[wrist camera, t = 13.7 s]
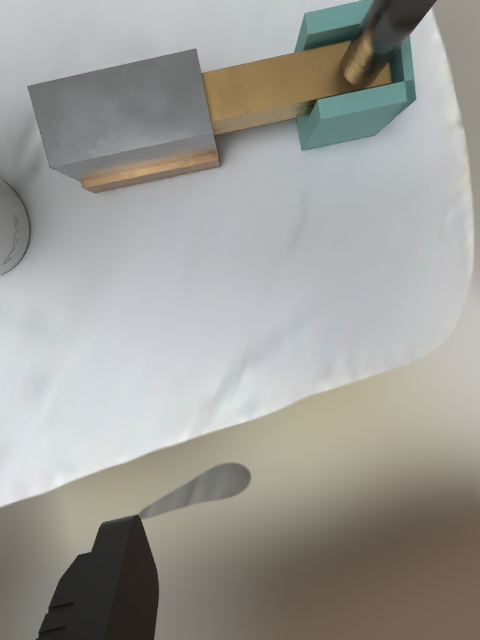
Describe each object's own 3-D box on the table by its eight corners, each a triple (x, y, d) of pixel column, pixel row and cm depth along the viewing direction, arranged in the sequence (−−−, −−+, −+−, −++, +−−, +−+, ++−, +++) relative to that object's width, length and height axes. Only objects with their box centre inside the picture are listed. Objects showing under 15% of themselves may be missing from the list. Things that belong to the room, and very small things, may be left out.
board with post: (190, 140, 28) (153, 52, 16) (182, 97, 28) (135, -28, 15) (375, 100, 28) (484, -22, 15) (370, 56, 27) (478, -107, 15)
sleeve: (94, 193, 32) (51, 175, 25) (75, 119, 31) (25, 77, 24) (220, 166, 32) (214, 140, 24) (205, 91, 31) (194, 39, 23)
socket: (301, 150, 32) (320, 119, 24) (288, 71, 30) (304, 13, 23) (374, 135, 31) (416, 99, 24) (364, 54, 30) (404, -10, 23)
